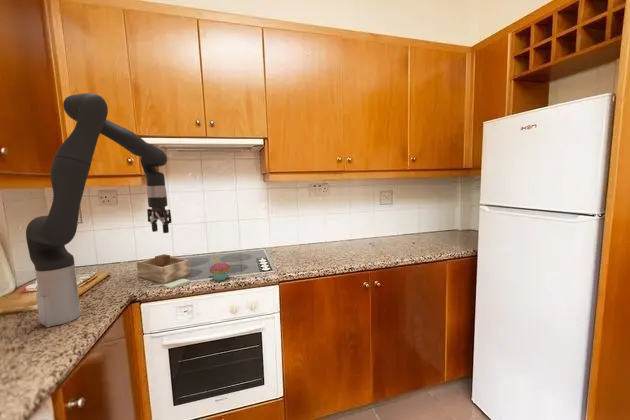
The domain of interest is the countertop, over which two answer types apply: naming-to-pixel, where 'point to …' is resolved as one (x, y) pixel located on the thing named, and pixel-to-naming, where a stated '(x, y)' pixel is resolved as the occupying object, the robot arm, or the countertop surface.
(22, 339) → the countertop surface
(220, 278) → the cupcake
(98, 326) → the countertop surface
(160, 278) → the crate
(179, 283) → the mat
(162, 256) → the walnut block
